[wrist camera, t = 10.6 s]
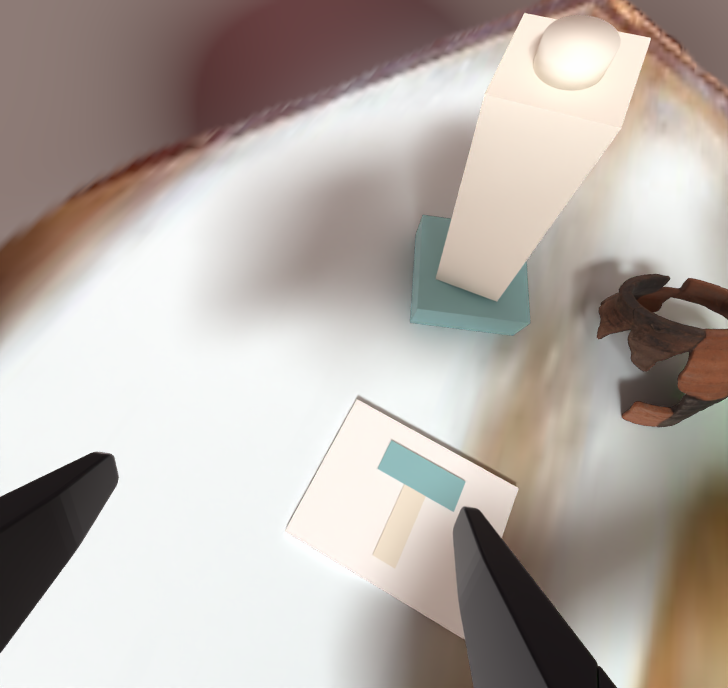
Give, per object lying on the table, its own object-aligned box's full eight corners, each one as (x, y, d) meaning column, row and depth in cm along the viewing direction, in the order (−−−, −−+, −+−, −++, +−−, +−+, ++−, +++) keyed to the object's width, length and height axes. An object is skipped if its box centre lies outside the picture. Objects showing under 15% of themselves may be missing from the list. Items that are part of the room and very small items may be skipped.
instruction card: (516, 487, 22) (519, 488, 22) (465, 638, 19) (467, 642, 19) (356, 399, 23) (356, 398, 23) (285, 530, 20) (284, 531, 20)
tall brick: (496, 301, 23) (638, 103, 10) (435, 279, 24) (491, 69, 11) (517, 249, 24) (669, 9, 11) (457, 229, 25) (533, -15, 12)
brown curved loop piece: (578, 424, 24) (630, 338, 19) (558, 341, 31) (592, 259, 26) (787, 459, 21) (920, 369, 16) (715, 358, 28) (791, 271, 23)
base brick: (509, 337, 26) (530, 323, 23) (408, 325, 26) (417, 308, 23) (505, 251, 29) (524, 228, 26) (414, 238, 28) (422, 214, 26)
